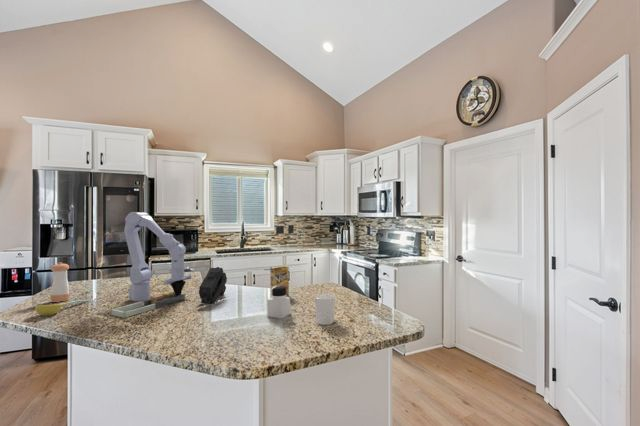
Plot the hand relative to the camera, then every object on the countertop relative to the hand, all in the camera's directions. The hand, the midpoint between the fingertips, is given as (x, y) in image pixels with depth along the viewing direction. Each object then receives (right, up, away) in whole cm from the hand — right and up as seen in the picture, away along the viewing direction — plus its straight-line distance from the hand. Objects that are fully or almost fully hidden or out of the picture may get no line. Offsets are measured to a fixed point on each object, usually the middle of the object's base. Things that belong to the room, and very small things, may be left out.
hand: (177, 296), depth 151 cm
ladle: (-45, -3, -12) cm, 47 cm away
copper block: (-5, -1, -10) cm, 11 cm away
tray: (-10, -2, -20) cm, 22 cm away
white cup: (+73, -2, -31) cm, 79 cm away
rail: (-3, -2, -6) cm, 7 cm away
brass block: (-2, -1, -5) cm, 5 cm away
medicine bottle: (+53, -2, -23) cm, 58 cm away
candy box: (+50, -2, +8) cm, 50 cm away
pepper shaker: (-60, -3, +1) cm, 60 cm away
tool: (+18, -2, 0) cm, 18 cm away
